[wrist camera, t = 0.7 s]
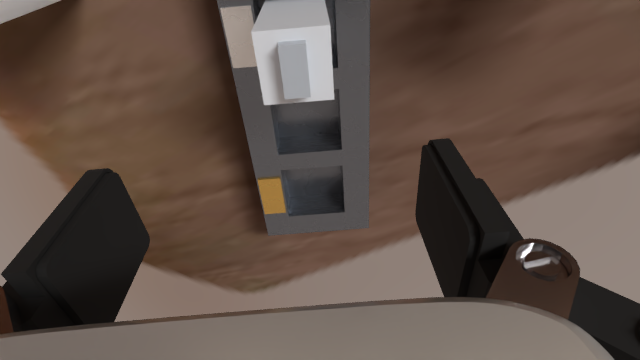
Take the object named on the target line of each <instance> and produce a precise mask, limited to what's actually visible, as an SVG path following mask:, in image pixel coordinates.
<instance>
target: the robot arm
mask: <svg viewBox="0 0 640 360" xmlns="http://www.w3.org/2000/svg"><path fill="white" fill-rule="evenodd" d="M416 221H417V225H418V227H419V230H420V233H421V235H422V238H423V241H424V243H425V246H426V249H427V252H428V254H429V257H430V260H431V262H432V265H433V268H434V271H435V273H436V276H437V279H438V281H439V284H440V287H441V289H442V292H443V295H444V297H438V298H437V297H436V298H416V299H400V300H384V301H368V302H355V303H343V304H329V305H316V306H303V307H291V308H278V309H265V310H253V311H240V312H227V313H217V314H216V313H215V314H203V315H191V316H180V317H167V318H157V319H146V320H145V319H144V320H133V321H122V322H114V321H115V319H116V316H117V314H118V312H119V310H120V308H121V306H122V303H123V301H124V299H125V297H126V294H127V292H128V290H129V288H130V286H131V284H132V282H133V279H134V277H135V275H136V273H137V270H138V268H139V266H140V264H141V262H142V260H143V258H144V255H145V253H146V251H147V249H148V247H149V242H150V238H149V234H148V232H147V230H146V228H145V226H144V224H143V222H142V220H141V218H140V216H139V214H138V212H137V210H136V208H135V206H134V204H133V202H132V200H131V198H130V196H129V194H128V192H127V190H126V188H125V186H124V184H123V182H122V180H121V178H120V176H119V174H117V173H115V172H113V171H112V170H111V169H108V168H106V169H95V170H88V171H87V172H85V174H84V175H83V176H82V177H81V178H80V180H79V181H78V182H77V183H76V184H75V186H74V187H73V188H72V189H71V190H70V192H69V193H68V194H67V195H66V196H65V198H64V199H63V200H62V201H61V202H60V204H59V205H58V206H57V207H56V208H55V210H54V211H53V212H52V213H51V215H50V216H49V217H48V218H47V219H46V221H45V222H44V223H43V224H42V225H41V227H40V228H39V229H38V230H37V231H36V233H35V234H34V235H33V236H32V237H31V239H30V240H29V241H28V242H27V243H26V245H25V246H24V247H23V248H22V249H21V251H20V252H19V253H18V254H17V255H16V257H15V258H14V259H13V260H12V261H11V263H10V264H9V265H8V266H7V268H6V269H5V270H4V271H3V272H2V274H1V275H2V276H3V277H4V278H5V279H6V280H7V282H6V283H5V284H4V286H3V287H2V286H0V360H640V304H639V303H637V302H635V301H632V300H630V299H628V298H626V297H623V296H621V295H619V294H617V293H614V292H612V291H610V290H608V289H605V288H603V287H601V286H598V285H596V284H594V283H592V282H590V281H587V280H585V279H583V278H581V277H580V268H579V265H578V263H577V261H576V260H575V259H574V257H573V256H572V255H571V254H570V253H569V252H567V251H566V250H565V249H563V248H562V247H560V246H558V245H556V244H554V243H551V242H548V241H545V240H541V239H530V238H529V239H523V237H522V236H521V234H520V233H519V232H518V230H517V229H516V227H515V226H514V224H513V223H512V221H511V220H510V218H509V217H508V215H507V214H506V212H505V211H504V209H503V208H502V206H501V205H500V203H499V202H498V201H497V199H496V198H495V196H494V195H493V193H492V192H491V190H490V189H489V187H488V186H487V184H486V183H485V182H484V181H483V179H480V178H477V179H476V178H475V176H474V175H473V173H472V172H471V170H470V169H469V167H468V166H467V164H466V163H465V161H464V159H463V158H462V156H461V155H460V153H459V152H458V150H457V149H456V147H455V146H454V144H453V143H452V141H451V140H450V139H448V138H447V139H436V140H430V141H429V143H428V145H424V146H423V147H422V154H421V164H420V174H419V184H418V193H417V203H416Z"/></svg>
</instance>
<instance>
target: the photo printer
mask: <svg viewBox="0 0 640 360" xmlns="http://www.w3.org/2000/svg"><path fill="white" fill-rule="evenodd" d="M58 1H61V0H0V24H2V23H4V22H7V21H9V20H12V19H15V18H17V17H20V16H23V15H25V14H28V13H30V12H33V11H35V10H38V9H41V8H43V7H46V6H48V5H51V4H53V3H56V2H58Z"/></svg>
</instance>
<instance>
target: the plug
mask: <svg viewBox="0 0 640 360" xmlns="http://www.w3.org/2000/svg"><path fill="white" fill-rule="evenodd" d="M251 34H252V40H253V46H254V51H255V57H256V63H257V68H258V74H259V79H260V85H261V91H262V96H263V102H264V105H274V104H286V103H298V102H310V101H322V100H334V84H333V65H332V47H331V28H330V21H329V17H328V12H327V8H326V4H325V0H265V2H264V4H263V7H262V9H261V11H260V13H259V15H258V18H257V20H256V22H255V24H254V26H253V29H252V31H251Z"/></svg>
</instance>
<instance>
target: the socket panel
mask: <svg viewBox="0 0 640 360" xmlns="http://www.w3.org/2000/svg"><path fill="white" fill-rule="evenodd" d="M264 2H265V0H217V4H218V8H219V13H220V17H221V22H222V26H223V31H224V35H225V40H226V45H227V49H228V54H229V58H230V63H231V67H232V72H233V76H234V81H235V86H236V90H237V95H238V99H239V104H240V108H241V113H242V117H243V122H244V127H245V131H246V136H247V140H248V145H249V149H250V154H251V158H252V163H253V168H254V172H255V177H256V181H257V186H258V190H259V195H260V199H261V204H262V209H263V213H264V218H265V222H266V227H267V231H268V236H269V235H282V234H295V233H308V232H321V231H334V230H347V229H360V228H369V90H370V0H325V4H326V8H327V12H328V17H329V21H330V28H331V47H332V65H333V84H334V100H322V101H310V102H298V103H286V104H274V105H264V102H263V96H262V91H261V85H260V79H259V74H258V68H257V63H256V57H255V51H254V46H253V40H252V34H251V31H252V29H253V26H254V24H255V22H256V20H257V18H258V15H259V13H260V11H261V9H262V7H263V4H264Z"/></svg>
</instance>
